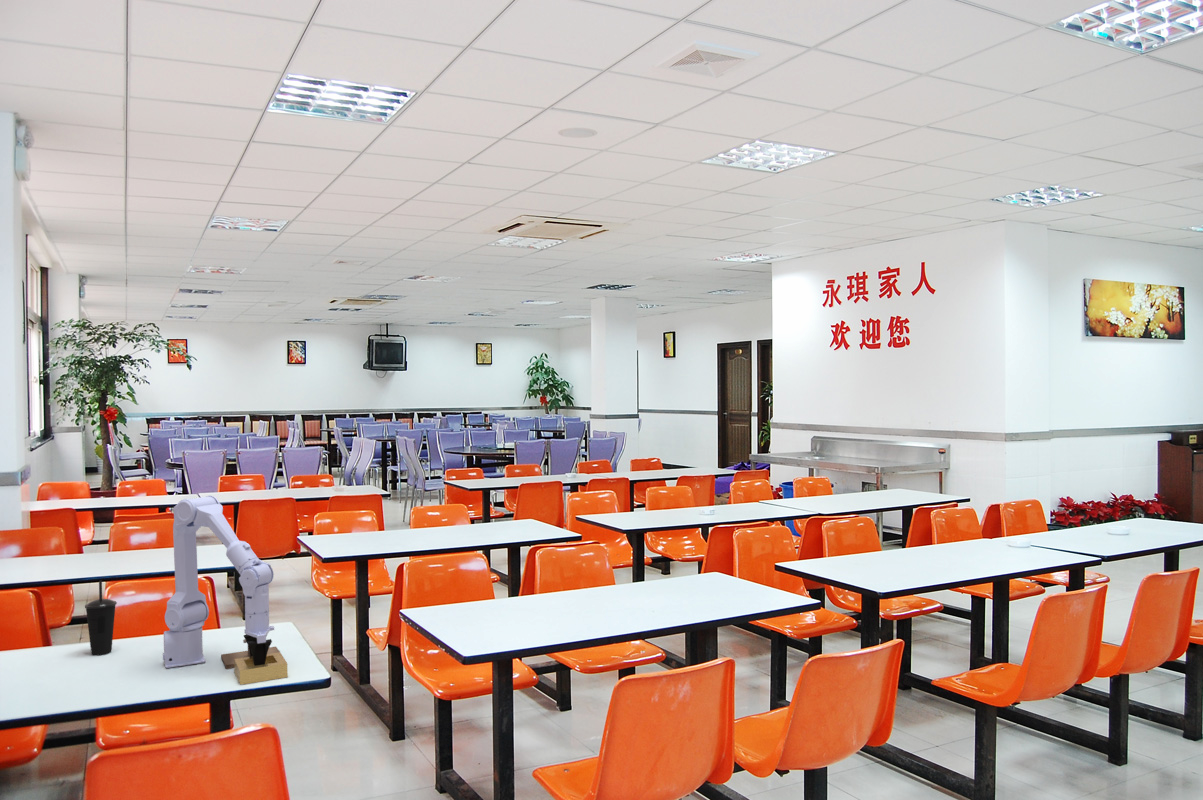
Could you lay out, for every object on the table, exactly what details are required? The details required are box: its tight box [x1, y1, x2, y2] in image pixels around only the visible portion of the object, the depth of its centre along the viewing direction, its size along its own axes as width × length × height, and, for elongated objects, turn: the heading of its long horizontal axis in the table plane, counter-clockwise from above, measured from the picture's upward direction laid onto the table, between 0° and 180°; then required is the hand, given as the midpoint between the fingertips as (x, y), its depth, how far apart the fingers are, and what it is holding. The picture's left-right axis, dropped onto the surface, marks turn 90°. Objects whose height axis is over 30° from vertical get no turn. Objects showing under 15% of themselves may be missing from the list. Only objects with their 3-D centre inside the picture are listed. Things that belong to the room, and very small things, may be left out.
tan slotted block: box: [233, 652, 288, 686], centre depth 218 cm, size 11×11×4 cm
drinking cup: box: [84, 580, 118, 657], centre depth 240 cm, size 8×8×20 cm
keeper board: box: [220, 638, 283, 670], centre depth 232 cm, size 14×11×6 cm
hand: (257, 664), depth 222 cm, fingers open, 5 cm apart
